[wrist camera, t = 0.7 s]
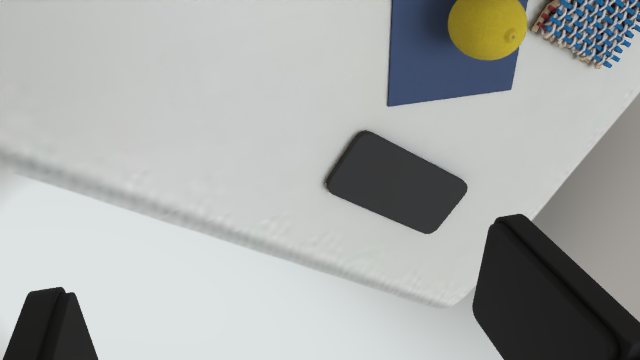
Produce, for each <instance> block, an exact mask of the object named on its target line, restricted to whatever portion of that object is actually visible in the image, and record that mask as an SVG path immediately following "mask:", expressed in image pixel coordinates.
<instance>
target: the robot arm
mask: <svg viewBox="0 0 640 360" xmlns="http://www.w3.org/2000/svg"><path fill="white" fill-rule="evenodd" d="M473 313H474V316H475V318H476V320H477V321H478V323H479V325H480V326H481V327H482V329H483V330H484V332H485V333H486V335H487V336H488V337H489V339H490V340H491V342H492V343H493V345H494V346H495V347H496V349H497V350H498V352H499V353H500V355H501V356H502V358H503V359H504V360H640V322H639V321H638V320H637V319H635V318H634V317H633V316H632V315H631V314H630V313H629V312H628V311H627V310H626V309H625V308H624V307H622V306H621V305H620V304H619V303H618V302H617V301H616V300H615V299H614V298H613V297H612V296H611V295H610V294H608V292H606V291H605V290H604V289H603V288H602V287H601V286H600V285H599V284H598V283H597V282H596V281H595V280H593V279H592V278H591V277H590V276H589V275H588V274H587V273H586V272H585V271H584V270H583V269H582V268H580V266H578V265H577V264H576V263H575V262H574V261H573V260H572V259H571V258H570V257H569V256H568V255H567V254H566V253H565V252H563V251H562V250H561V249H560V248H559V247H558V246H557V245H556V244H555V243H554V242H553V241H552V240H550V239H549V238H548V237H547V236H546V235H545V234H544V233H543V232H542V231H541V230H540V229H539V228H538V227H536V226H535V225H534V224H533V223H532V222H531V221H530V220H529V219H528V218H527V217H526V216H524V215H522V214H516V215H509V216H503V217H499V218H497V219H496V220H495V222H494V224H492V225H491V226H490V227H489V230H488V235H487V239H486V244H485V249H484V253H483V258H482V263H481V267H480V272H479V277H478V281H477V286H476V291H475V296H474V300H473ZM3 360H98V357H97V354H96V352H95V349H94V346H93V343H92V340H91V337H90V335H89V332H88V329H87V326H86V323H85V320H84V317H83V314H82V312H81V309H80V306H79V303H78V300H77V297H76V295H75V294H74V293H73V292H71V293H66V292H65V290H64V289H63V288H62V287H56V288H50V289H44V290H38V291H32V292H30V293H29V294H28V295H27V297H26V300H25V303H24V305H23V308H22V310H21V313H20V316H19V318H18V321H17V323H16V326H15V329H14V332H13V334H12V337H11V339H10V342H9V345H8V348H7V350H6V352H5V355H4V358H3Z"/></svg>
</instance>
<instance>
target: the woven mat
mask: <svg viewBox="0 0 640 360" xmlns="http://www.w3.org/2000/svg"><path fill="white" fill-rule="evenodd" d="M551 1H552V2H551V3H549V4H547V6H546V7H545V9H544V10H543V11H542V13H541V15H540V16H539V18H538V19H537V21H536V22H535V24H534V26H533V27H532V29H531V31H533V32H535V33H536V32H537V30H538V29H539V28H541V34H542V35H541V36H542V37H543V38H544V39H546V38H547V40H548V41H550V42H552V41H553V40H554V39H555V37H557V38H558V39H557V40H558V47H565V46H566V47H567V48H571V49H570V50H571V51H573V53H575V52H576V54H577V55H579V54H580V57H579V59H580V60H581V61H584V62H586V63H589V61H590V60H591V59H594V60H593V62H595V63H594V66H595V69H600V68H601V67H603V65H604V66H606V67H608V68H611V66H612V65H611V64H610V63H609V62H608V61H607V60H609V59H613V60H615V61H617V62H618V61H619V60H620V58H618V57H617V56H615V55H613V53H614V51H615V52H618V53H622V51H623V50H622V49H621V48H620V47H619V46H618V45H619V44H621V45H625V46H627V47H629V46H630V45H631V43H629V42H627V41H626V40H624V38H625V36H626V37H629V38H632V37H633V36H634V35H633V34H632V33H631V31H629V30H630V29H635V30H637V31H639V32H640V27H639V26H638V25H636V21H638V22H640V12H638V10H639V11H640V0H604V1H603V0H584V1H583V0H551ZM570 1H571V2H570ZM611 4H612V5H613V7H614V8H612V7H611V6H610V5H611ZM577 5H580V6H579V7H578V8H576V7H577ZM598 7H600V8H599V9H598ZM551 11H552V12H553V13H552V14H551V16H549V14H550V12H551ZM584 11H585V13H584ZM592 15H594V16H593V18H592ZM626 15H627V18H626ZM559 16H560V17H559ZM580 18H581V19H580ZM545 19H546V20H548V22H547V23H545V24H543V22H544V21H545ZM561 19H562V21H561V22H560V20H561ZM579 19H580V20H579ZM587 23H589V24H588V25H587ZM621 23H622V24H623V25H622V26H621V25H620V24H621ZM607 24H608V27H607ZM574 26H575V27H574ZM573 27H574V30H573ZM593 29H594V31H593ZM544 30H545V31H544ZM561 30H562V31H561ZM560 31H561V33H560ZM601 32H602V33H603V37H602V36H601V35H600V33H601ZM569 34H570V35H569ZM568 35H569V36H568ZM589 35H590V36H589ZM621 35H622V37H620V36H621ZM567 36H568V37H567ZM588 36H589V37H588ZM571 37H572V38H571ZM596 40H598V41H597V42H596ZM595 42H596V43H595ZM616 42H618V43H616ZM583 43H584V44H583ZM603 44H604V47H603V48H601V46H602V45H603ZM582 45H583V47H582ZM578 50H579V52H578ZM610 50H611V52H609V51H610ZM597 51H598V52H600V53H599V54H597V55H595V54H596V53H597ZM577 52H578V53H577ZM581 53H582V54H581ZM606 56H607V58H606Z"/></svg>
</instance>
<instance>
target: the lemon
mask: <svg viewBox="0 0 640 360" xmlns="http://www.w3.org/2000/svg"><path fill="white" fill-rule="evenodd" d="M448 31H449V35H450V38H451V40H452V41H453V43H454V45H455V46H456V47H457V48H458V49H459V50H460V51H462V52H463V53H464V54H466V55H468V56H470V57H473V58H475V59H479V60H497V59H501V58H503V57H505V56H508V55H510V54H511V53H512V52H514V51H515V50H516V49H517V48H518V47H519V45H520V44H521V42H522V41H523V39H524V37H525V34H526V31H527V16H526V13H525V10H524V8H523V6H522V5H521V4H520V2H519V1H518V0H457V1H456V2H455V4H454V5H453V7H452V9H451V11H450V14H449V18H448Z"/></svg>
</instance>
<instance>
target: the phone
mask: <svg viewBox="0 0 640 360" xmlns="http://www.w3.org/2000/svg"><path fill="white" fill-rule="evenodd" d="M327 188H328V190H329V191H330V192H331V193H332V194H333V195H336V196H338V197H340V198H342V199H345V200H347V201H349V202H352V203H354V204H356V205H359V206H361V207H363V208H366V209H368V210H370V211H373V212H375V213H377V214H380V215H382V216H384V217H387V218H389V219H391V220H394V221H396V222H398V223H401V224H403V225H405V226H408V227H410V228H412V229H415V230H417V231H419V232H422V233H425V234H430V233H433V232H434V231H436V230H437V229H438V228H439V226H440V225H441V224H442V223H443V221H444V220H445V219H446V218H447V216H448V215H449V214H450V213H451V211H452V210H453V209H454V208H455V206H456V205H457V204H458V203H459V201H460V200H461V199H462V198H463V196H464V195H465V194H466V192H467V184H466V183H465V182H464V181H463V180H462V179H460V178H458V177H456V176H454V175H452V174H450V173H449V172H447V171H445V170H443V169H441V168H439V167H438V166H436V165H434V164H432V163H430V162H428V161H426V160H424V159H422V158H420V157H418V156H416V155H414V154H412V153H410V152H409V151H407V150H405V149H403V148H401V147H399V146H397V145H395V144H393V143H391V142H389V141H388V140H386V139H384V138H382V137H380V136H378V135H376V134H374V133H372V132H369V131H365V132H362V133H360V134H358V135H357V136H356V138H355V139H354V140H353V142H352V143H351V145H350V146H349V148H348V149H347V151H346V152H345V154H344V155H343V157H342V158H341V160H340V161H339V163H338V164H337V166H336V167H335V169H334V170H333V172H332V173H331V175H330V176H329V178H328V180H327Z"/></svg>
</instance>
